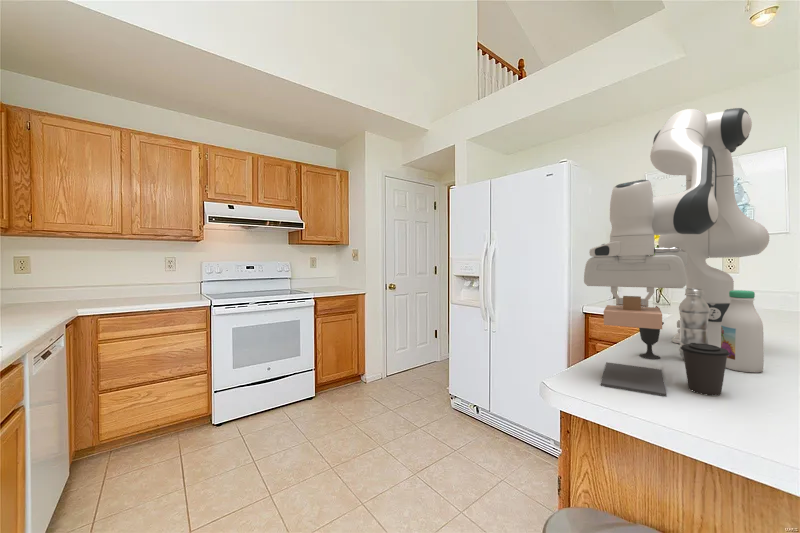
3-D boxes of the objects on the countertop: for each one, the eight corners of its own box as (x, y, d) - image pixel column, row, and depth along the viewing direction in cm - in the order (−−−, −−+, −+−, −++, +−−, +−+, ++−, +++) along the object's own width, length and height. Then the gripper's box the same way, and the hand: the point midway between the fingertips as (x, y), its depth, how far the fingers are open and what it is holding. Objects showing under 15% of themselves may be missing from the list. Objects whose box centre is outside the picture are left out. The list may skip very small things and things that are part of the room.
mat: (606, 364, 94) (606, 362, 94) (661, 371, 87) (661, 369, 87) (600, 385, 79) (600, 383, 79) (666, 396, 72) (666, 393, 72)
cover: (607, 317, 90) (606, 293, 90) (659, 321, 84) (659, 295, 83) (603, 324, 81) (603, 298, 81) (662, 329, 75) (662, 300, 74)
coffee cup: (682, 381, 80) (682, 338, 80) (730, 389, 75) (730, 344, 74) (678, 391, 74) (678, 346, 74) (730, 401, 69) (730, 352, 69)
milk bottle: (762, 367, 88) (762, 290, 87) (764, 375, 82) (764, 293, 82) (721, 361, 93) (721, 288, 93) (720, 369, 88) (720, 291, 87)
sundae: (666, 361, 95) (666, 307, 94) (637, 358, 98) (636, 306, 98) (662, 355, 101) (662, 304, 100) (634, 352, 104) (634, 303, 103)
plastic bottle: (717, 365, 91) (716, 290, 90) (687, 364, 92) (687, 290, 91) (700, 358, 97) (700, 287, 96) (673, 357, 98) (673, 288, 98)
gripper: (686, 247, 79) (686, 306, 79) (585, 250, 90) (586, 302, 90) (689, 246, 73) (690, 310, 74) (582, 249, 85) (583, 305, 85)
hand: (631, 305), depth 82 cm, fingers closed on cover, 3 cm apart
